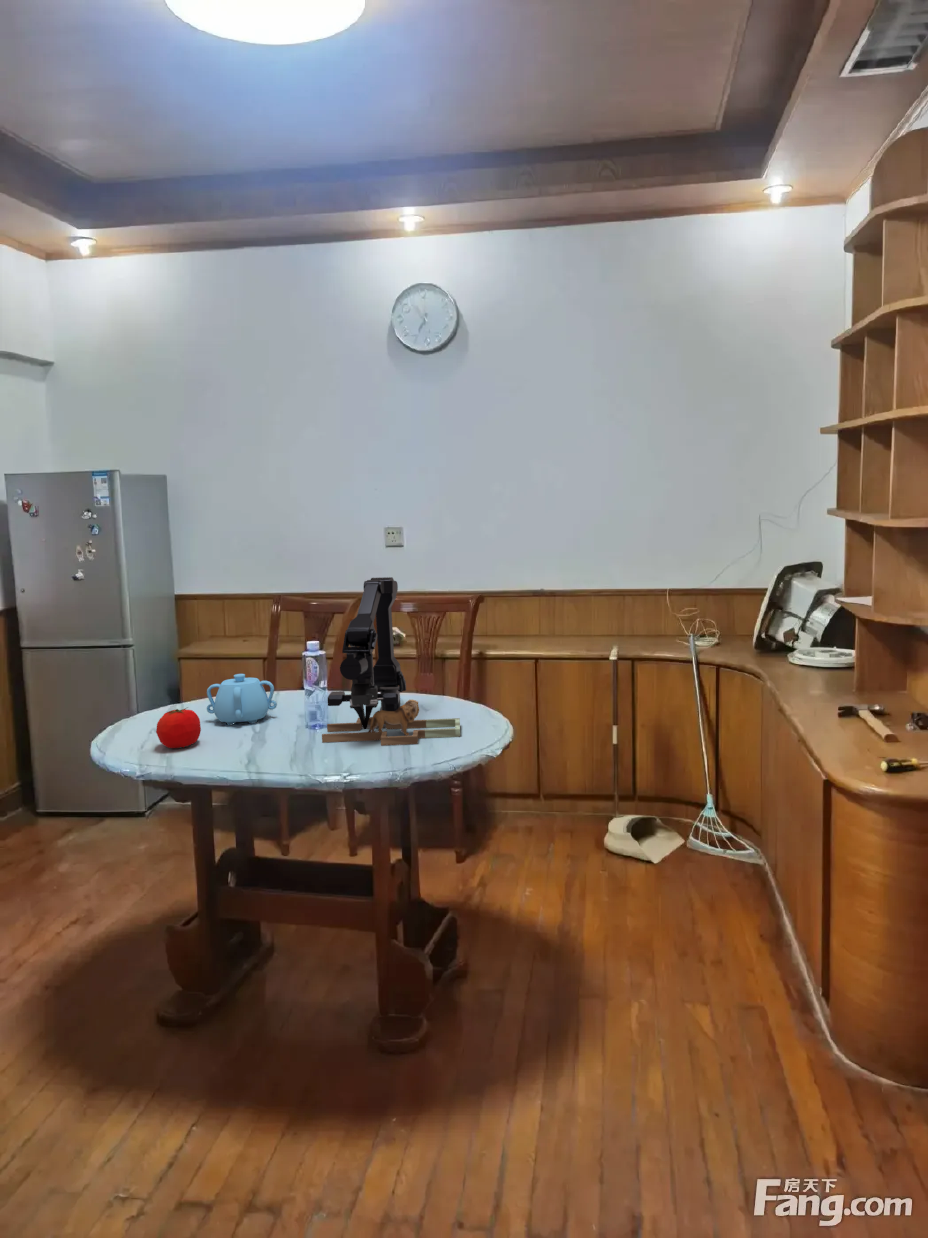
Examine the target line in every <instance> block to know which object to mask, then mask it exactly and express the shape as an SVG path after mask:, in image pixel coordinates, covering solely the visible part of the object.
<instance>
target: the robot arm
mask: <svg viewBox="0 0 928 1238" xmlns="http://www.w3.org/2000/svg"><path fill="white" fill-rule="evenodd" d="M398 587H399V586H398V581H396V580H394V578H393V577H390V576H389V577H388V576H387V577H371V578H370V579H367V580H364V582H363V592H362V596H361V600H360V604H359V607H358V610H357V614H356V616H355V617H354V618H353V619H352V620H350V621H349V624H348V626H347V629H346V630H345V632H344V636H343V637H344V638H343V643H342V644H343V646H342V654H346V658H345V659H343V660H342V661H341V663H340V666H339V672H340V674H341V676H342V677H343V678H345V679H346V680H349V681H351V680H352V681H351V683H352V684H351V688H350V694H346V692H345V691H344V690H337V691H331V692H330V693H329V694H328V696H327V706H328V707H339V706H340V705H342V704H343V703H344V702H349V704H350V705H349V708H350V709H353V710H354V711H355V712H356V714H357V716H358V718H360V721H361V723H362V726H363V728H364V729H363V730H368V729H367V726H368V722H369V718H370V717H371V713H372V711H373V709H374V708H378V705H379V701H380V708H379V711H380V710H384V711H395V710H397V709H398V708H399V707H401V706H402V705H401V693H403V692H406V691H407V682H406V679H405V676H404V674H403V671H402V670H401V665H400V662H399V661H398V660H397V658H396V657H395V651H394V650H395V648H394V633H393V632H394V631H393V628H394V627H393V616H392V615H393V613H392V607H393V604H394V603H395V602H396V601H395V600H396V599H397V593H398V590H399V589H398ZM374 622H375V623H376V625H374ZM375 626H376V628H375ZM376 645H377V661H376V662H375V663H374V656H373V651H374V650H375V649H376ZM378 692H379V693H378ZM364 706H365V708H364Z"/></svg>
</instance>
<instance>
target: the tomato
mask: <svg viewBox="0 0 928 1238" xmlns="http://www.w3.org/2000/svg"><path fill="white" fill-rule="evenodd" d="M188 708H189V706H188V707H186V708H183V709H179V708H175V709H173V710H170V711H166V712H165V713H163V715H162V716H161V717H160V718H159V719H158V721H157V723H156V730H155V733H156V736H157V738H158V741H159V743H161V744H162V745H163V746H165V747H166V748H168V749H181V748H180V747H183V748H186V747H189V745H190V746H191V744H192V745H193V744H195V743H196V742H197V741H198V739H199V738H200V736H201V731H202V728H201V720H200V718H199V716H198V714H197V713H196V712H195V711H193V710H192V709H188ZM185 746H186V747H185Z"/></svg>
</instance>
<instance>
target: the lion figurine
mask: <svg viewBox="0 0 928 1238" xmlns="http://www.w3.org/2000/svg"><path fill="white" fill-rule="evenodd" d="M419 712H420V707H419V701H417V700H415V699H409V700H407V701H406V702H405V703H404V704H402V705H401V707H399V708H398V709H397V710H395V711H384V710H380V709H379V710H377V711H376V712H374V713H373V716H371V717H372V720H371V725H370V729H368V731H367V732H379V731H383V729H384V728H383V725H384V722H386V723H388V724H391V725H397V724H400V725H401V729H400V732H401V733H402V734H404V735H403V736H410V733H409V732H408V730H407V724H408V723H412V722H413V721H414V720H416V718H417V717H418V715H419ZM375 718H376V720H375V723H374V724H373V722H374V719H375ZM377 726H379V729H377V731H376V729H375V728H376V727H377Z"/></svg>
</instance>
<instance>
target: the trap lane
mask: <svg viewBox="0 0 928 1238" xmlns="http://www.w3.org/2000/svg"><path fill="white" fill-rule="evenodd" d="M372 717H373V716H370V718H369V722H368V726H367V729H366V730H370V725H371V720H372ZM375 720H376V718H375V719H374V722H373V724H374V723H375ZM326 727H327V728H326V730H327V733H321V742H322V743H323V744H324V743H339V742H341V743H342V742H345V743H346V742H364V741H365V742H366V741H367V742H368V741H371V742H372V741H380V745H381V746H382V747H383V746H401V745H403V746H405V745H407V746H408V745H418V744H419V739H435V738H438V739H439V738H457V737H459V738H460V737H461V718H460V717H458V718H433V719H414V721H413V722H412V723H408V724H407V729H413V731H412V735H411V734H410V735H394V736H390V735H389V736H388V730H401V725H400V724H397V725H391V724H388V723H386V722H384V725H383V728H382V729H385V731H383V730H382V731H379V732H378V731H376V732H368V731H362V732H360V731H361V730H364V728H363V726H362V723H361V721H360V718H359V717H357V719H356V722H342V723H340V722H338V723H327V724H326ZM425 728H426V729H425ZM376 729H377V730H378V729H379V726H377V727H376V728H375V730H376Z"/></svg>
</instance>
